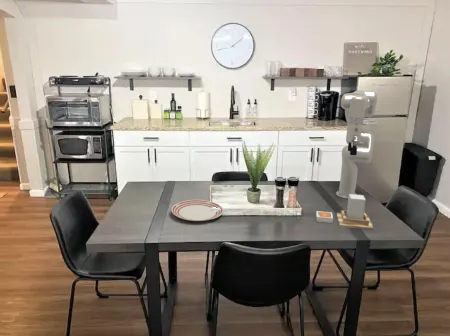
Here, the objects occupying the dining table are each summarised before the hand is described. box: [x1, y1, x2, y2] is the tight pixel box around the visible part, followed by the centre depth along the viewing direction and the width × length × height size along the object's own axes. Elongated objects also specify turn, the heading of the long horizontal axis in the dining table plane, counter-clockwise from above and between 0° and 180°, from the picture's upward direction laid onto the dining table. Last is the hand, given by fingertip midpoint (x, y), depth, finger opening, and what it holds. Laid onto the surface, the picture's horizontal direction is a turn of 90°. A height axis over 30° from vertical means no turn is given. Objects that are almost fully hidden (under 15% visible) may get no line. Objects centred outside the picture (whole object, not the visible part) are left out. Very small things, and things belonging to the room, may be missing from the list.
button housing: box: [315, 210, 334, 224], centre depth 190 cm, size 8×8×3 cm
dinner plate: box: [171, 199, 224, 222], centre depth 193 cm, size 28×27×3 cm
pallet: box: [336, 209, 374, 231], centre depth 187 cm, size 16×16×4 cm
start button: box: [320, 211, 329, 217], centre depth 190 cm, size 5×5×2 cm
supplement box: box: [346, 194, 366, 220], centre depth 186 cm, size 7×7×13 cm
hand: (351, 153), depth 192 cm, fingers open, 9 cm apart
